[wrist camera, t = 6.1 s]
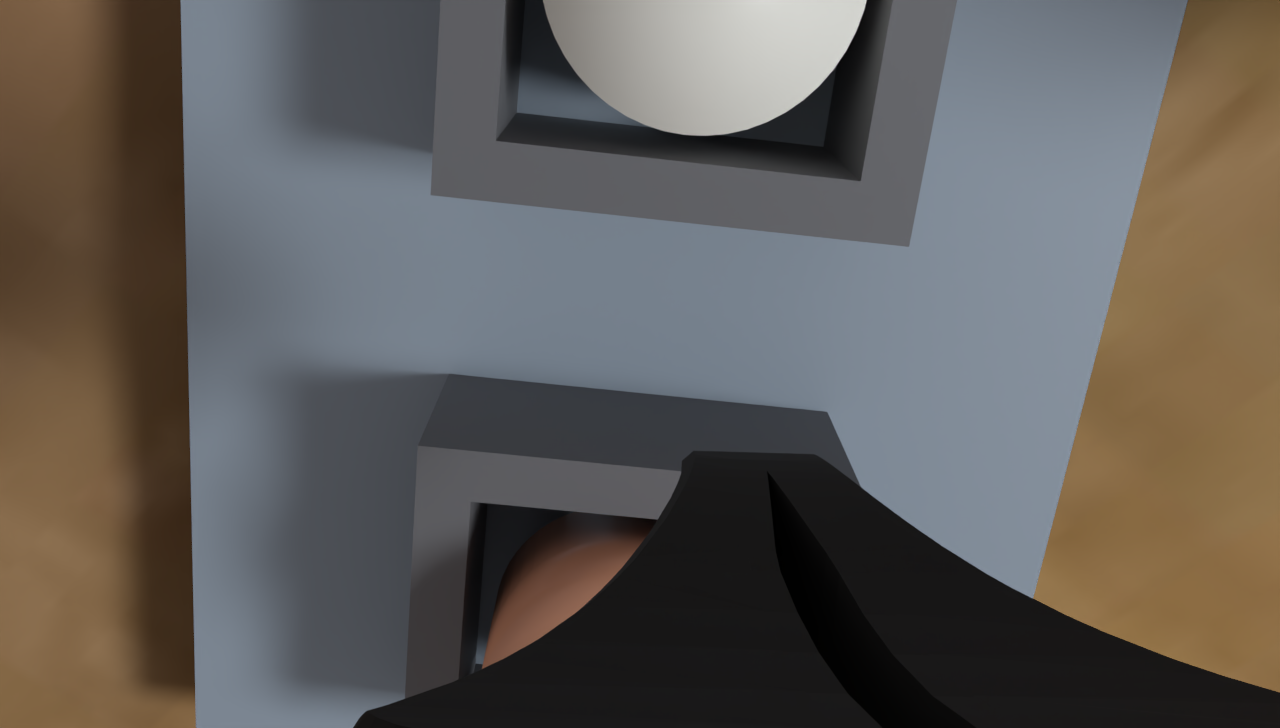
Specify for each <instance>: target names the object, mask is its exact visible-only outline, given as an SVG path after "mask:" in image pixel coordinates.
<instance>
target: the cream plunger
mask: <svg viewBox="0 0 1280 728" xmlns="http://www.w3.org/2000/svg"><path fill="white" fill-rule="evenodd" d="M866 1H867V0H543V3H544V7H545V11H546V15H547V18H548V21H549V24H550V26H551V29H552V32H553V34H554V37H555V39H556V41H557V43H558V45H559V47H560V49H561V50H562V52H563V54H564V56H565V58H566V59H567V61H568V62H569V63H570V65H571V66H572V68H573V69H574V71H575V72H576V74H577V75H578V76H579V77H580V78H581V79H582V80H583V82H584V83H585V84H586V85H587V86H588V87H589V88H590V89H591V90H592V91H593V92H594V93H595V94H596V95H597V96H599V97H600V98H601V99H602V100H603V101H605V102H606V103H607V104H608V105H610V106H611V107H613V108H614V109H616V110H617V111H619V112H620V113H622V114H624V115H625V116H627V117H629V118H631V119H633V120H635V121H637V122H640V123H642V124H644V125H646V126H650V127H653V128H656V129H659V130H662V131H666V132H671V133H677V134H682V135H697V136H710V135H722V134H729V133H733V132H738V131H742V130H747V129H750V128H752V127H755V126H758V125H761V124H763V123H766V122H768V121H770V120H772V119H774V118H776V117H778V116H780V115H782V114H784V113H786V112H787V111H789V110H790V109H791V108H793V107H794V106H796V105H797V104H799V103H800V102H802V101H803V100H804V99H805V98H806V97H808V96H809V95H810V94H811V93H812V92H813V91H814V90H815V89H816V88H818V87H819V86H820V85H821V84H822V82H823V81H824V80H825V79H826V78H827V77H828V75H829V74H830V73H831V72H832V71H833V70H834V68H835V67H836V65H837V64H838V62H839V61H840V60H841V58H842V57H843V55H844V54H845V52H846V51H847V49H848V47H849V45H850V43H851V41H852V39H853V37H854V35H855V33H856V31H857V28H858V26H859V23H860V20H861V17H862V15H863V12H864V9H865V5H866Z"/></svg>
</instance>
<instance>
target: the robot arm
mask: <svg viewBox="0 0 1280 728" xmlns="http://www.w3.org/2000/svg"><path fill="white" fill-rule="evenodd" d="M353 728H1280V693H1279V692H1276V691H1272V690H1269V689H1265V688H1262V687H1259V686H1255V685H1252V684H1248V683H1245V682H1242V681H1238V680H1235V679H1231V678H1228V677H1225V676H1222V675H1219V674H1216V673H1213V672H1210V671H1207V670H1204V669H1201V668H1198V667H1195V666H1192V665H1189V664H1186V663H1183V662H1180V661H1177V660H1174V659H1171V658H1169V657H1166V656H1163V655H1161V654H1158V653H1156V652H1153V651H1151V650H1148V649H1146V648H1143V647H1141V646H1138V645H1135V644H1133V643H1130V642H1128V641H1125V640H1123V639H1120V638H1118V637H1115V636H1112V635H1110V634H1107V633H1105V632H1102V631H1100V630H1098V629H1096V628H1093V627H1091V626H1089V625H1087V624H1084V623H1082V622H1080V621H1077V620H1075V619H1073V618H1071V617H1069V616H1066V615H1064V614H1062V613H1060V612H1058V611H1056V610H1054V609H1053V608H1051V607H1049V606H1047V605H1045V604H1043V603H1041V602H1039V601H1037V600H1035V599H1033V598H1031V597H1029V596H1027V595H1025V594H1023V593H1021V592H1019V591H1017V590H1015V589H1013V588H1011V587H1009V586H1007V585H1006V584H1004V583H1002V582H1000V581H998V580H997V579H995V578H993V577H991V576H990V575H988V574H986V573H984V572H983V571H981V570H980V569H978V568H976V567H975V566H973V565H972V564H970V563H968V562H967V561H965V560H964V559H962V558H960V557H959V556H957V555H956V554H954V553H952V552H951V551H949V550H948V549H946V548H944V547H943V546H941V545H940V544H938V543H937V542H935V541H934V540H933V539H931V538H930V537H928V536H927V535H925V534H924V533H922V532H921V531H919V530H918V529H916V528H915V527H914V526H912V525H911V524H909V523H908V522H907V521H905V520H904V519H903V518H901V517H900V516H898V515H897V514H896V513H894V512H893V511H892V510H890V509H889V508H888V507H886V506H885V505H884V504H882V503H881V502H880V501H878V500H877V499H876V498H874V497H873V496H872V495H870V494H869V493H868V492H867V491H865V490H864V489H863V488H861V487H860V486H859V485H857V484H856V483H855V482H854V481H852V480H851V479H850V478H848V477H847V476H846V475H844V474H843V473H842V472H840V471H839V470H838V469H836V468H835V467H834V466H832V465H831V464H830V463H828V462H827V461H825V460H824V459H822V458H821V457H819V456H817V455H815V454H793V453H759V452H724V451H693V452H691V453H690V454H689V455H688V456H687V457H686V458H684V459H683V460H682V466H681V475H680V478H679V481H678V483H677V485H676V488H675V490H674V492H673V494H672V496H671V498H670V500H669V502H668V503H667V505H666V507H665V508H664V510H663V511H662V513H661V515H660V516H659V518H658V520H657V521H656V523H655V525H654V526H653V528H652V529H651V531H650V532H649V534H648V535H647V536H646V538H645V539H644V540H643V541H642V543H641V544H640V545H639V547H638V548H637V549H636V550H635V552H634V553H633V554H632V556H631V557H630V558H629V559H628V561H627V562H626V563H625V565H624V566H623V567H622V568H621V569H620V570H619V571H618V572H617V574H616V575H615V576H614V577H613V578H612V579H611V580H610V581H609V582H608V583H607V584H606V585H605V586H604V587H603V588H602V589H601V590H600V591H599V592H598V593H597V594H596V595H595V596H594V597H593V598H592V599H591V600H590V601H588V602H587V603H586V604H585V605H584V606H583V607H582V608H581V609H580V610H578V611H577V612H576V613H575V614H573V615H572V616H571V617H569V618H568V619H566V620H565V621H563V622H562V623H561V624H559V625H558V626H556V627H555V628H554V629H552V630H551V631H549V632H548V633H546V634H545V635H544V636H542V637H541V638H539V639H538V640H536V641H534V642H533V643H531V644H529V645H527V646H526V647H524V648H522V649H520V650H518V651H517V652H515V653H513V654H511V655H509V656H508V657H506V658H504V659H502V660H500V661H498V662H495V663H493V664H491V665H489V666H487V667H485V668H483V669H481V670H479V671H477V672H475V673H473V674H470V675H468V676H465V677H463V678H461V679H458V680H456V681H454V682H451V683H448V684H446V685H443V686H440V687H437V688H434V689H431V690H428V691H425V692H423V693H420V694H417V695H414V696H411V697H408V698H405V699H403V700H400V701H397V702H394V703H391V704H388V705H385V706H382V707H378V708H375V709H371V710H368V711H366V712H364V714H363V715H362V716H361V717H360V718H359V719H358V721H357V722H356V724H355V725H354V727H353Z"/></svg>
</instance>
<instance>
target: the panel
mask: <svg viewBox="0 0 1280 728" xmlns="http://www.w3.org/2000/svg"><path fill="white" fill-rule="evenodd" d="M1187 2H1188V0H867V1H866V5H865V9H864V12H863V15H862V17H861V20H860V23H859V26H858V28H857V31H856V33H855V35H854V37H853V39H852V41H851V43H850V45H849V47H848V49H847V51H846V52H845V54H844V55H843V57H842V58H841V60H840V61H839V62H838V64H837V65H836V67H835V68H834V70H833V71H832V72H831V73H830V74H829V75H828V77H827V78H826V79H825V80H824V81H823V82H822V84H821V85H820V86H819V87H818V88H816V89H815V90H814V91H813V92H812V93H811V94H810V95H809V96H808V97H806V98H805V99H804V100H803V101H802V102H800V103H799V104H797V105H796V106H794V107H793V108H791V109H790V110H789V111H787V112H786V113H784V114H782V115H780V116H778V117H776V118H774V119H772V120H770V121H768V122H766V123H763V124H761V125H758V126H755V127H752V128H750V129H747V130H742V131H738V132H733V133H729V134H722V135H710V136H697V135H682V134H677V133H671V132H666V131H662V130H659V129H656V128H653V127H650V126H646V125H644V124H642V123H640V122H637V121H635V120H633V119H631V118H629V117H627V116H625V115H624V114H622V113H620V112H619V111H617V110H616V109H614V108H613V107H611V106H610V105H608V104H607V103H606V102H605V101H603V100H602V99H601V98H600V97H599V96H597V95H596V94H595V93H594V92H593V91H592V90H591V89H590V88H589V87H588V86H587V85H586V84H585V83H584V82H583V80H582V79H581V78H580V77H579V76H578V75H577V74H576V72H575V71H574V69H573V68H572V66H571V65H570V63H569V62H568V61H567V59H566V58H565V56H564V54H563V52H562V50H561V49H560V47H559V45H558V43H557V41H556V39H555V37H554V34H553V32H552V29H551V26H550V24H549V21H548V18H547V15H546V11H545V7H544V3H543V0H181V42H182V90H183V137H184V184H185V231H186V278H187V325H188V372H189V419H190V466H191V514H192V561H193V608H194V655H195V702H196V728H353V727H354V725H355V724H356V722H357V721H358V719H359V718H360V717H361V716H362V715H363V714H364V712H366V711H368V710H371V709H375V708H378V707H382V706H385V705H388V704H391V703H394V702H397V701H400V700H403V699H405V698H408V697H411V696H414V695H417V694H420V693H423V692H425V691H428V690H431V689H434V688H437V687H440V686H443V685H446V684H448V683H451V682H454V681H456V680H458V679H461V678H463V677H465V676H468V675H470V674H473V673H475V672H477V671H479V670H481V669H482V666H483V661H484V656H485V651H486V646H487V642H488V637H489V632H490V627H491V622H492V617H493V612H494V608H495V603H496V598H497V593H498V589H499V586H500V582H501V579H502V576H503V574H504V572H505V570H506V568H507V566H508V564H509V562H510V561H511V559H512V558H513V556H514V555H515V553H516V552H517V551H518V550H519V548H520V547H521V546H522V545H523V544H524V543H525V542H526V541H527V540H528V539H529V538H530V537H531V536H532V535H534V534H535V533H536V532H537V531H538V530H540V529H541V528H543V527H544V526H546V525H547V524H549V523H551V522H552V521H554V520H556V519H558V518H560V517H562V516H565V515H567V514H569V513H572V512H584V513H594V514H605V515H615V516H626V517H636V518H647V519H657V520H658V518H659V516H660V515H661V513H662V511H663V510H664V508H665V507H666V505H667V503H668V502H669V500H670V498H671V496H672V494H673V492H674V490H675V488H676V485H677V483H678V481H679V478H680V475H681V466H682V460H683V459H684V458H686V457H687V456H688V455H689V454H690V453H691V452H693V451H724V452H759V453H793V454H815V455H817V456H819V457H821V458H822V459H824V460H825V461H827V462H828V463H830V464H831V465H832V466H834V467H835V468H836V469H838V470H839V471H840V472H842V473H843V474H844V475H846V476H847V477H848V478H850V479H851V480H852V481H854V482H855V483H856V484H857V485H859V486H860V487H861V488H863V489H864V490H865V491H867V492H868V493H869V494H870V495H872V496H873V497H874V498H876V499H877V500H878V501H880V502H881V503H882V504H884V505H885V506H886V507H888V508H889V509H890V510H892V511H893V512H894V513H896V514H897V515H898V516H900V517H901V518H903V519H904V520H905V521H907V522H908V523H909V524H911V525H912V526H914V527H915V528H916V529H918V530H919V531H921V532H922V533H924V534H925V535H927V536H928V537H930V538H931V539H933V540H934V541H935V542H937V543H938V544H940V545H941V546H943V547H944V548H946V549H948V550H949V551H951V552H952V553H954V554H956V555H957V556H959V557H960V558H962V559H964V560H965V561H967V562H968V563H970V564H972V565H973V566H975V567H976V568H978V569H980V570H981V571H983V572H984V573H986V574H988V575H990V576H991V577H993V578H995V579H997V580H998V581H1000V582H1002V583H1004V584H1006V585H1007V586H1009V587H1011V588H1013V589H1015V590H1017V591H1019V592H1021V593H1023V594H1025V595H1027V596H1029V597H1031V598H1033V596H1034V592H1035V588H1036V585H1037V581H1038V577H1039V573H1040V569H1041V565H1042V561H1043V558H1044V554H1045V550H1046V546H1047V542H1048V538H1049V534H1050V531H1051V527H1052V523H1053V519H1054V515H1055V511H1056V507H1057V504H1058V500H1059V496H1060V492H1061V488H1062V484H1063V480H1064V477H1065V473H1066V469H1067V465H1068V461H1069V457H1070V453H1071V449H1072V446H1073V442H1074V438H1075V434H1076V430H1077V426H1078V422H1079V419H1080V415H1081V411H1082V407H1083V403H1084V399H1085V395H1086V392H1087V388H1088V384H1089V380H1090V376H1091V372H1092V368H1093V365H1094V361H1095V357H1096V353H1097V349H1098V345H1099V341H1100V338H1101V334H1102V330H1103V326H1104V322H1105V318H1106V314H1107V310H1108V307H1109V303H1110V299H1111V295H1112V291H1113V287H1114V283H1115V280H1116V276H1117V272H1118V268H1119V264H1120V260H1121V256H1122V253H1123V249H1124V245H1125V241H1126V237H1127V233H1128V229H1129V226H1130V222H1131V218H1132V214H1133V210H1134V206H1135V202H1136V199H1137V195H1138V191H1139V187H1140V183H1141V179H1142V175H1143V172H1144V168H1145V164H1146V160H1147V156H1148V152H1149V148H1150V144H1151V141H1152V137H1153V133H1154V129H1155V125H1156V121H1157V117H1158V114H1159V110H1160V106H1161V102H1162V98H1163V94H1164V90H1165V87H1166V83H1167V79H1168V75H1169V71H1170V67H1171V63H1172V60H1173V56H1174V52H1175V48H1176V44H1177V40H1178V36H1179V33H1180V29H1181V25H1182V21H1183V17H1184V13H1185V9H1186V5H1187Z"/></svg>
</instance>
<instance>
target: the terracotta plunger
mask: <svg viewBox="0 0 1280 728" xmlns="http://www.w3.org/2000/svg"><path fill="white" fill-rule="evenodd" d="M656 521H657V519H647V518H636V517H626V516H615V515H605V514H594V513H584V512H572V513H569V514H567V515H565V516H562V517H560V518H558V519H556V520H554V521H552V522H551V523H549V524H547V525H546V526H544V527H543V528H541V529H540V530H538V531H537V532H536V533H535V534H534V535H532V536H531V537H530V538H529V539H528V540H527V541H526V542H525V543H524V544H523V545H522V546H521V547H520V548H519V550H518V551H517V552H516V553H515V555H514V556H513V558H512V559H511V561H510V562H509V564H508V566H507V568H506V570H505V572H504V574H503V576H502V579H501V582H500V586H499V589H498V593H497V598H496V603H495V608H494V612H493V617H492V622H491V627H490V632H489V637H488V642H487V646H486V651H485V656H484V661H483V666H482V669H483V668H485V667H487V666H489V665H491V664H493V663H495V662H498V661H500V660H502V659H504V658H506V657H508V656H509V655H511V654H513V653H515V652H517V651H518V650H520V649H522V648H524V647H526V646H527V645H529V644H531V643H533V642H534V641H536V640H538V639H539V638H541V637H542V636H544V635H545V634H546V633H548V632H549V631H551V630H552V629H554V628H555V627H556V626H558V625H559V624H561V623H562V622H563V621H565V620H566V619H568V618H569V617H571V616H572V615H573V614H575V613H576V612H577V611H578V610H580V609H581V608H582V607H583V606H584V605H585V604H586V603H587V602H588V601H590V600H591V599H592V598H593V597H594V596H595V595H596V594H597V593H598V592H599V591H600V590H601V589H602V588H603V587H604V586H605V585H606V584H607V583H608V582H609V581H610V580H611V579H612V578H613V577H614V576H615V575H616V574H617V572H618V571H619V570H620V569H621V568H622V567H623V566H624V565H625V563H626V562H627V561H628V559H629V558H630V557H631V556H632V554H633V553H634V552H635V550H636V549H637V548H638V547H639V545H640V544H641V543H642V541H643V540H644V539H645V538H646V536H647V535H648V534H649V532H650V531H651V529H652V528H653V526H654V525H655V523H656Z"/></svg>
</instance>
